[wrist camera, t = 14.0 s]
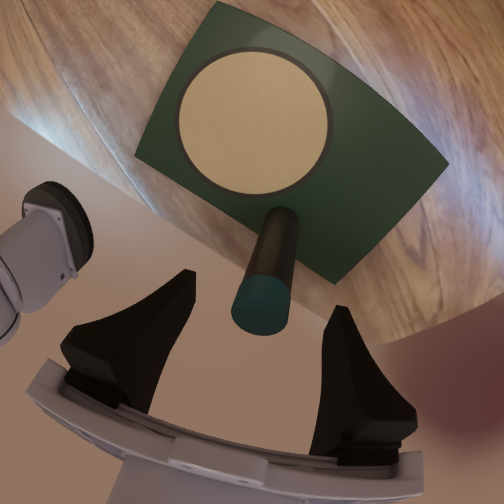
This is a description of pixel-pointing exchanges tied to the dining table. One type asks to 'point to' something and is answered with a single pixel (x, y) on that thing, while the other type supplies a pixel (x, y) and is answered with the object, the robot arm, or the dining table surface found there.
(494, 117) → the dining table surface
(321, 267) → the kitchen scale
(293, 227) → the pill bottle
